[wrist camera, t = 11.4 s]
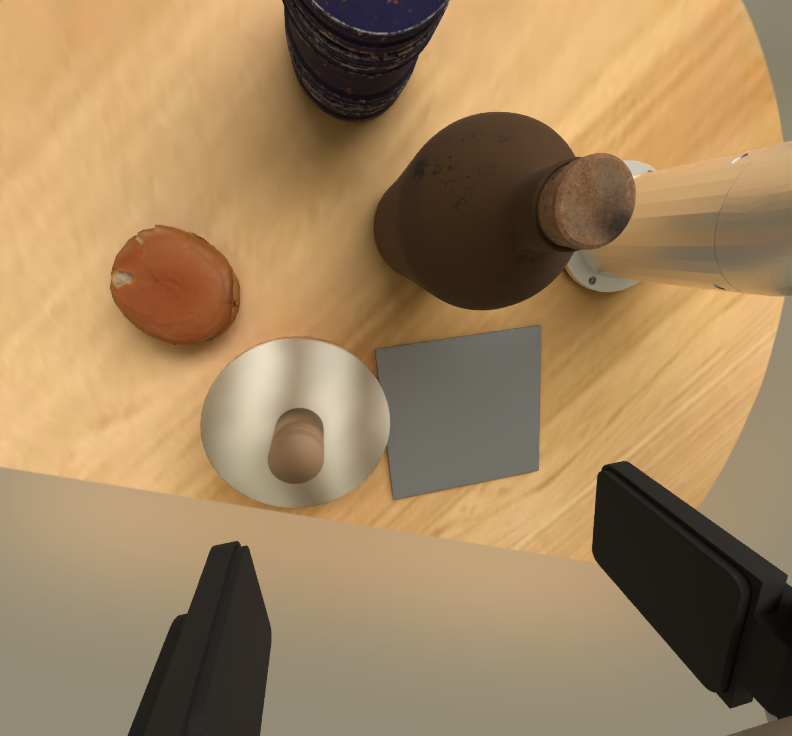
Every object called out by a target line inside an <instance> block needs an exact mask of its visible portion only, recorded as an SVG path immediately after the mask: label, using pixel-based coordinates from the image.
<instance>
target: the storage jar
mask: <svg viewBox="0 0 792 736" xmlns="http://www.w3.org/2000/svg"><path fill="white" fill-rule="evenodd" d="M449 1H450V0H282V2H283V4H284V15H285V31H286V37H287V43H288V48H289V52H290V55H291V59H292V64H293V67H294V71H295V74H296V76H297V78H298V81H299V83H300V85H301V87H302V88H303V90H304V92H305V93H306V94H307V96H308V97H309V98H310V99H311V101H312V102H313V103H314V104H315V105H317V106H318V107H319V108H320V109H321V110H323V111H324V112H325V113H327V114H329V115H331V116H333V117H335V118H337V119H341V120H344V121H350V122H361V121H366V120H370V119H373V118H375V117H377V116H379V115H381V114H382V113H384V112H385V111H386V110H387V109H388V108H389V107H390V106H391V105H393V103H394V102H395V100H396V99H397V98H398V96H399V94H400V93H401V92H402V90H403V89H404V87H405V86H406V84H407V82H408V80H409V78H410V76H411V74H412V73H413V70H414V67H415V64H416V62H417V59H418V56H419V54H420V53H421V52H422V51H423V49H424V48H425V46H426V45H427V44H428V42H429V41H430V39H431V37H432V35H433V33H434V32H435V30H436V28H437V26H438V24H439V22H440V20H441V18H442V16H443V14H444V12H445V10H446V9H447V6H448V3H449Z"/></svg>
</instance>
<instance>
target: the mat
mask: <svg viewBox="0 0 792 736" xmlns="http://www.w3.org/2000/svg"><path fill="white" fill-rule="evenodd" d="M375 354H376V363H377V371H378V379H379V384H380V385H381V387H382V390H383V392H384V395H385V397H386V400H387V403H388V408H389V413H390V431H389V438H388V442H387V452H388V460H389V468H390V476H391V484H392V492H393V499H394V500H395V499H400V498H405V497H410V496H415V495H420V494H425V493H430V492H435V491H440V490H444V489H449V488H454V487H459V486H464V485H469V484H474V483H479V482H484V481H489V480H494V479H499V478H503V477H508V476H513V475H518V474H523V473H528V472H533V471H538V470H539V423H540V369H541V326H540V325H536V326H529V327H522V328H515V329H509V330H502V331H495V332H488V333H482V334H475V335H468V336H461V337H454V338H448V339H441V340H434V341H427V342H420V343H414V344H407V345H400V346H393V347H387V348H380V349H375Z"/></svg>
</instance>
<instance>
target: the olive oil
mask: <svg viewBox="0 0 792 736" xmlns="http://www.w3.org/2000/svg"><path fill="white" fill-rule="evenodd" d="M635 201H636V187H635V182H634V178H633V175H632V173H631V171H630V169H629V168H628V166H627V165H626V164H625V163H624V162H623V161H622V160H621V159H619V158H618V157H616V156H614V155H611V154H606V153H596V154H591V155H588V156H585V157H575V155H574V153H573V152H572V150H571V149H570V147H569V146H568V144H567V143H566V142H565V141H564V140H563V139H562V137H561V136H559V135H558V134H557V133H556V132H555V131H554V130H553V129H551V128H550V127H549V126H547V125H546V124H544V123H542V122H540V121H538V120H536V119H534V118H531V117H528V116H525V115H521V114H516V113H509V112H487V113H480V114H475V115H472V116H468V117H465V118H463V119H460V120H458V121H456V122H454V123H452V124H450V125H448V126H447V127H445V128H444V129H442V130H441V131H439V132H438V133H437V134H436V135H434V136H433V137H432V138H431V139H430V140H429V141H428V142H427V143H426V144H425V145H424V146H423V147H422V148H421V149H420V151H419V152H418V153H417V155H416V156H415V157H414V159H413V160H412V161H411V163H410V164H409V165H408V167H407V168H406V169H405V171H404V172H403V173H402V174H401V176H400V177H399V178H398V179H397V181H396V182H395V183H394V184H393V185H392V186H391V187H390V188H389V189H388V190H387V191H386V193H385V194H384V196H383V197H382V199H381V201H380V203H379V205H378V208H377V211H376V215H375V221H374V233H375V239H376V243H377V246H378V249H379V251H380V253H381V255H382V257H383V258H384V260H385V261H386V262H387V263H388V264H389V265H390V266H391V267H392V268H393V269H394V270H395V271H397V272H398V273H400V274H402V275H403V276H405V277H407V278H409V279H411V280H412V281H414V282H415V283H417V284H418V285H420V286H421V287H422V288H424V289H425V290H427V291H428V292H429V293H431V294H432V295H434V296H435V297H437V298H438V299H440V300H442V301H444V302H446V303H448V304H451V305H453V306H456V307H460V308H464V309H470V310H493V309H499V308H503V307H507V306H511V305H514V304H517V303H519V302H522V301H524V300H526V299H528V298H530V297H532V296H534V295H535V294H537V293H539V292H540V291H541V290H543V289H544V288H545V287H547V286H548V285H549V284H550V283H551V282H552V281H553V280H554V279H555V278H556V277H557V276H558V275H559V274H560V273H561V272H562V270H563V269H564V268H565V266H566V265H567V264H568V262H569V261H570V259H571V257H572V255H573V254H574V252H575V251H578V250H592V249H597V248H600V247H603V246H605V245H607V244H609V243H611V242H612V241H614V240H615V239H616V238H617V237H618V236H619V235H620V234H621V233H622V232H623V230H624V229H625V228H626V226H627V224H628V223H629V221H630V219H631V216H632V214H633V211H634V207H635Z"/></svg>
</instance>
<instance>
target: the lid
mask: <svg viewBox="0 0 792 736" xmlns="http://www.w3.org/2000/svg"><path fill="white" fill-rule="evenodd" d="M389 431H390V413H389V408H388V403H387V400H386V397H385V395H384V392H383V390H382V387H381V385H380V384H379V382H378V380H377V378H376V377H375V375H374V374H373V372H372V371H371V370H370V369H369V367H368V366H367V365H366V364H365V363H364V362H363V361H362V360H360V359H359V358H358V357H357V356H356V355H354V354H353V353H351V352H350V351H348V350H346V349H345V348H343V347H340V346H338V345H336V344H334V343H331V342H328V341H324V340H321V339H316V338H310V337H286V338H279V339H274V340H270V341H267V342H264V343H261V344H258V345H256V346H254V347H252V348H250V349H248V350H246V351H245V352H243V353H242V354H240V355H239V356H237V357H236V358H235V359H234V360H233V361H232V362H230V363H229V364H228V365H227V366H226V367H225V369H224V370H223V371H222V372H221V373H220V375H219V376H218V377H217V378H216V380H215V381H214V383H213V385H212V386H211V388H210V389H209V392H208V394H207V396H206V399H205V401H204V405H203V409H202V413H201V437H202V441H203V446H204V449H205V451H206V454H207V457H208V459H209V460H210V462H211V464H212V466H213V467H214V469H215V470H216V471H217V473H218V474H219V475H220V476H221V477H222V478H223V479H224V480H225V481H226V482H227V483H228V484H229V485H230V486H231V487H233V488H234V489H235V490H237V491H238V492H240V493H242V494H243V495H245V496H247V497H249V498H251V499H253V500H256V501H258V502H261V503H265V504H268V505H273V506H278V507H288V508H300V507H310V506H316V505H320V504H324V503H327V502H330V501H332V500H335V499H338V498H339V497H341V496H343V495H345V494H347V493H349V492H350V491H352V490H353V489H355V488H356V487H357V486H359V485H360V484H361V483H362V482H363V481H364V480H365V479H366V478H367V477H368V476H369V475H370V474H371V473H372V472H373V470H374V469H375V467H376V466H377V465H378V463H379V461H380V459H381V458H382V456H383V454H384V451H385V448H386V446H387V442H388V438H389Z"/></svg>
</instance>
